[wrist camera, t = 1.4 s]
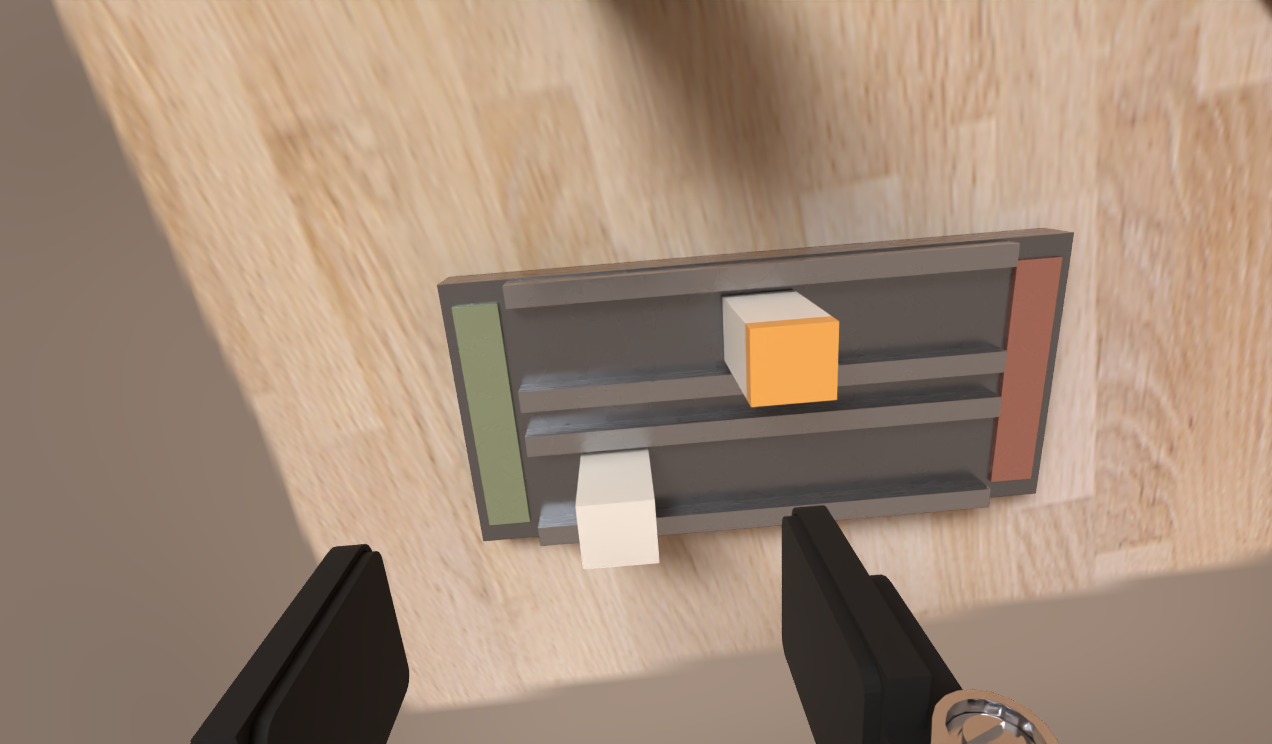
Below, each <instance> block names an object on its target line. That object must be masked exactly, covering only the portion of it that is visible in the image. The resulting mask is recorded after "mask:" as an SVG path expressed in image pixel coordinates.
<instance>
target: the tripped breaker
mask: <svg viewBox="0 0 1272 744" xmlns="http://www.w3.org/2000/svg"><path fill="white" fill-rule="evenodd" d="M722 304H723V335H724V361H725V362H726V364H727V366H728V368H729V369H730V371H731V373H732V375H733V376H734V378H735V380H736V382H737V383H738V385H739V387H740V389H741V390H742V392H743V394H744V396H745V397H746V399H747V401H748V403H749V404H750V406H751V407H759V406H771V405H783V404H794V403H806V402H818V401H830V400H837V382H838V348H839V321H838V320H837V319H835V318H834V317H832V316H831V315H829V314H828V313H827V312H825V311H824V310H822V309H821V308H819V307H818V306H816V305H815V304H814V303H812V302H811V301H809V300H808V299H806V298H805V297H803V296H802V295H801V294H799V293H798V292H796V291H795V290H787V291H775V292H763V293H751V294H739V295H727V296H722Z"/></svg>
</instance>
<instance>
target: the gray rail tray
mask: <svg viewBox="0 0 1272 744" xmlns="http://www.w3.org/2000/svg"><path fill="white" fill-rule="evenodd" d="M1073 236H1074V232H1067V231H1060V230H1054V229H1047V228H1039V229H1026V230H1014V231H1002V232H990V233H978V234H966V235H954V236H941V237H929V238H917V239H905V240H893V241H881V242H869V243H857V244H844V245H832V246H820V247H808V248H796V249H784V250H772V251H759V252H747V253H735V254H723V255H711V256H699V257H687V258H675V259H662V260H650V261H638V262H626V263H614V264H602V265H590V266H577V267H565V268H553V269H541V270H529V271H517V272H505V273H493V274H480V275H468V276H456V277H448V278H447V279H445V280H444V281H442V282H441V283H439V284H438V285H437V287H438V293H439V298H440V304H441V309H442V315H443V320H444V326H445V331H446V337H447V342H448V348H449V353H450V359H451V364H452V370H453V376H454V381H455V387H456V392H457V398H458V403H459V409H460V414H461V420H462V425H463V431H464V436H465V442H466V447H467V453H468V459H469V464H470V470H471V475H472V481H473V486H474V492H475V497H476V503H477V508H478V514H479V519H480V525H481V530H482V536H483V541H492V540H503V539H515V538H526V537H538V536H539V538H540V545H541V546H546V545H557V544H569V543H580V541H579V533H578V525H577V516H576V508H575V505H576V496H577V486H578V477H579V468H580V459H581V453H582V452H594V451H605V450H617V449H629V448H641V447H648V451H649V459H650V467H651V475H652V483H653V491H654V499H655V511H656V524H657V536H661V535H673V534H684V533H696V532H707V531H719V530H730V529H742V528H753V527H765V526H776V525H782V519H783V517H784V516H792V510H793V508H794V507H806V506H818V505H825V506H826V507H827V508H828V510H829V512H830V513H831V515H832V516H833V518H834V520H846V519H857V518H869V517H880V516H892V515H903V514H915V513H926V512H938V511H949V510H961V509H972V508H984V507H989V499H990V497H1000V496H1011V495H1023V494H1034V493H1036V488H1037V481H1038V474H1039V467H1040V460H1041V454H1042V447H1043V440H1044V433H1045V426H1046V420H1047V413H1048V406H1049V399H1050V392H1051V386H1052V379H1053V372H1054V365H1055V358H1056V351H1057V345H1058V338H1059V331H1060V324H1061V317H1062V311H1063V304H1064V297H1065V290H1066V283H1067V277H1068V270H1069V263H1070V256H1071V249H1072V242H1073ZM787 290H795V291H796V292H798V293H799V294H801V295H802V296H803V297H805V298H806V299H808V300H809V301H811V302H812V303H814V304H815V305H816V306H818V307H819V308H821V309H822V310H824V311H825V312H827V313H828V314H829V315H831V316H832V317H834V318H835V319H837V320H838V321H839V348H838V382H837V400H830V401H818V402H806V403H794V404H783V405H771V406H759V407H751V406H750V404H749V403H748V401H747V399H746V397H745V396H744V394H743V392H742V390H741V389H740V387H739V385H738V383H737V382H736V380H735V378H734V376H733V375H732V373H731V371H730V369H729V368H728V366H727V364H726V362H725V361H724V335H723V304H722V296H727V295H739V294H751V293H763V292H775V291H787Z"/></svg>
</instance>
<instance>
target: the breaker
mask: <svg viewBox="0 0 1272 744" xmlns="http://www.w3.org/2000/svg"><path fill="white" fill-rule="evenodd" d="M575 508H576V516H577V525H578V533H579V541H580V549H581V557H582V565H583V570H584V569H596V568H607V567H619V566H630V565H642V564H653V563H659V551H658V538H657V524H656V511H655V499H654V491H653V483H652V475H651V467H650V459H649V451H648V447H641V448H629V449H617V450H605V451H594V452H582V453H581V459H580V468H579V477H578V486H577V496H576V505H575Z"/></svg>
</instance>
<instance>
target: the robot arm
mask: <svg viewBox="0 0 1272 744" xmlns="http://www.w3.org/2000/svg"><path fill="white" fill-rule="evenodd" d="M782 642H783V648H784V653H785V657H786V660H787V663H788V665H789V668H790V671H791V674H792V677H793V680H794V683H795V685H796V688H797V691H798V694H799V697H800V700H801V702H802V705H803V708H804V711H805V714H806V717H807V720H808V722H809V725H810V728H811V731H812V734H813V736H814V740H815V742H816V744H1059V742H1058V740H1057V738H1056V737H1055V735H1054V734H1053V733H1052V731H1051V730H1050V729H1049V727H1048V726H1047V725H1046V723H1045V722H1043V721H1042V720H1041V719H1040V718H1039V717H1038V716H1036V715H1035V714H1034V713H1033V712H1032V711H1030V710H1029V709H1027V708H1026V707H1024V706H1022V705H1021V704H1019V703H1017V702H1015V701H1014V700H1012V699H1009V698H1006V697H1004V696H1001V695H999V694H996V693H993V692H987V691H981V690H975V689H972V690H963V689H962V688H961V686H960V685H959V683H958V682H957V680H956V679H955V678H954V676H953V674H952V673H951V671H950V670H949V668H948V667H947V665H946V664H945V663H944V661H943V659H942V658H941V656H940V655H939V653H938V652H937V650H936V649H935V647H934V646H933V644H932V643H931V641H930V640H929V638H928V637H927V635H926V634H925V632H924V631H923V629H922V628H921V626H920V625H919V623H918V622H917V620H916V619H915V617H914V616H913V614H912V613H911V611H910V610H909V608H908V607H907V605H906V604H905V602H904V601H903V599H902V598H901V596H900V595H899V593H898V592H897V590H896V589H895V587H894V586H893V584H892V583H891V582H890V580H889V579H888V578H887V577H886V576H884V575H871V576H869V574H868V573H867V571H866V569H865V568H864V566H863V565H862V563H861V561H860V560H859V558H858V557H857V555H856V553H855V552H854V550H853V549H852V547H851V545H850V544H849V542H848V541H847V539H846V537H845V536H844V534H843V532H842V531H841V529H840V528H839V526H838V524H837V523H836V521H835V520H834V518H833V516H832V515H831V513H830V512H829V510H828V508H827V507H826V506H825V505H818V506H806V507H794V508H793V510H792V516H784V517H783V519H782ZM408 683H409V667H408V663H407V659H406V655H405V650H404V646H403V642H402V638H401V634H400V630H399V626H398V622H397V617H396V613H395V609H394V605H393V601H392V597H391V593H390V589H389V584H388V580H387V576H386V572H385V568H384V564H383V560H382V557H381V554H380V553H379V552H377V551H373V552H372V550H371V548H370V547H369V545H367V544H360V545H348V546H337V547H333V548H332V549H331V550H330V551H329V552H328V553H327V555H326V556H325V557H324V559H323V560H322V562H321V563H320V564H319V566H318V567H317V568H316V570H315V571H314V573H313V574H312V575H311V577H310V578H309V579H308V581H307V582H306V584H305V585H304V586H303V588H302V589H301V590H300V592H299V593H298V594H297V596H296V597H295V598H294V600H293V601H292V603H291V604H290V605H289V607H288V608H287V609H286V611H285V612H284V613H283V615H282V616H281V618H280V619H279V620H278V622H277V623H276V624H275V626H274V627H273V629H272V630H271V631H270V633H269V634H268V636H267V637H266V638H265V639H264V641H263V642H262V644H261V645H260V646H259V648H258V649H257V650H256V652H255V653H254V655H253V656H252V657H251V659H250V660H249V661H248V663H247V664H246V665H245V667H244V668H243V670H242V671H241V672H240V674H239V675H238V676H237V678H236V679H235V681H234V682H233V683H232V685H231V686H230V687H229V689H228V690H227V691H226V693H225V694H224V695H223V697H222V698H221V700H220V701H219V702H218V704H217V705H216V707H215V708H214V709H213V711H212V712H211V713H210V715H209V716H208V717H207V719H206V720H205V721H204V723H203V724H202V726H201V727H200V728H199V730H198V731H197V732H196V734H195V735H194V736H193V738H192V739H191V744H386V743H387V740H388V737H389V735H390V733H391V730H392V727H393V725H394V722H395V720H396V717H397V715H398V712H399V710H400V707H401V704H402V702H403V699H404V697H405V694H406V692H407V688H408Z"/></svg>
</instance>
